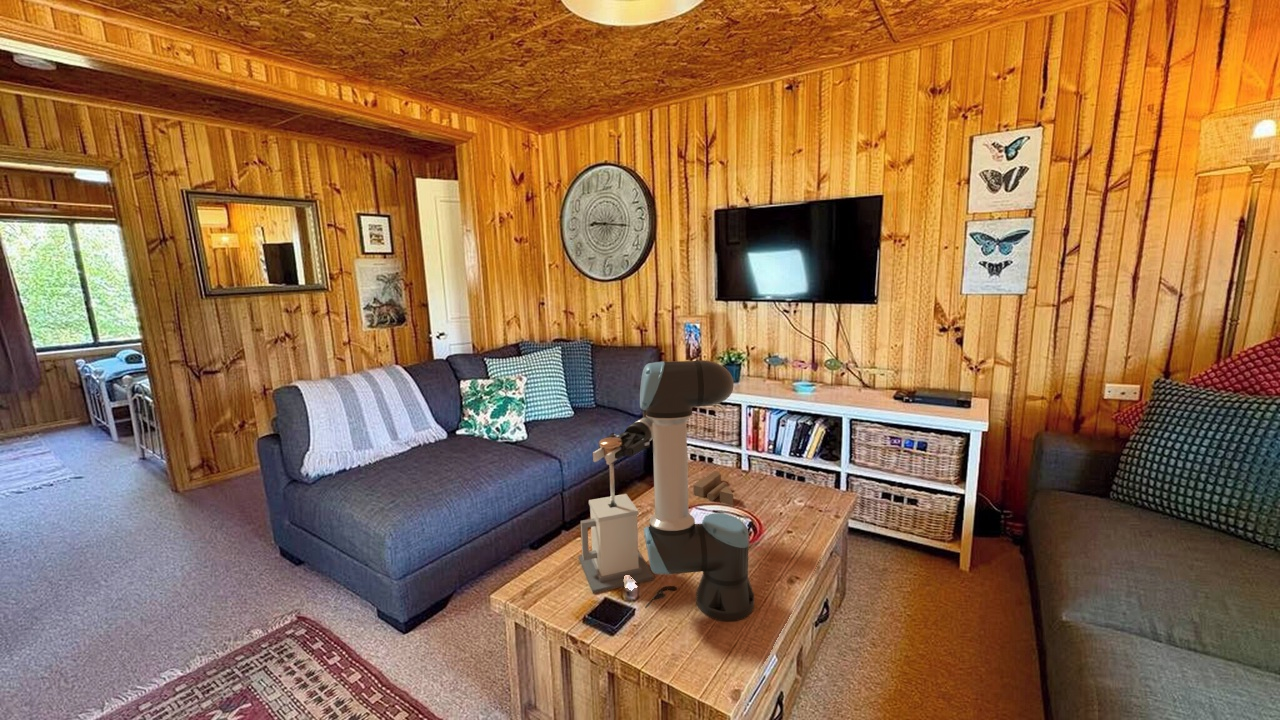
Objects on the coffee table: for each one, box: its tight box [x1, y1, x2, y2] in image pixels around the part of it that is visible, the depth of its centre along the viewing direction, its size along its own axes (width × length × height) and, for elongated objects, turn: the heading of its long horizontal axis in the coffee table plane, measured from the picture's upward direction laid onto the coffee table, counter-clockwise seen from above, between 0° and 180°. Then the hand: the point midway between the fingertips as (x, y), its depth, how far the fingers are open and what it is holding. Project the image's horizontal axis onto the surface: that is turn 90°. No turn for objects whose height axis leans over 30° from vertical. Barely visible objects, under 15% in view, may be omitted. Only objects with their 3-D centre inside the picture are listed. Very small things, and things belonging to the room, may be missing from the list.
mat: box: [578, 550, 655, 594], centre depth 151 cm, size 18×18×1 cm
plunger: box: [598, 437, 622, 508], centre depth 146 cm, size 6×6×23 cm
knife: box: [644, 585, 678, 609], centre depth 137 cm, size 14×4×1 cm, turn 148°
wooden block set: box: [692, 470, 734, 507], centre depth 199 cm, size 17×6×18 cm
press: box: [580, 493, 642, 582], centre depth 149 cm, size 12×16×19 cm
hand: (600, 458), depth 140 cm, fingers closed on plunger, 4 cm apart
